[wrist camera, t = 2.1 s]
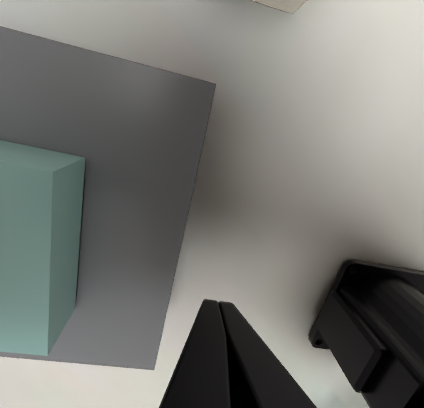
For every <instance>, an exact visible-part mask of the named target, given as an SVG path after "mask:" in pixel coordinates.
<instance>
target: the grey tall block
mask: <svg viewBox="0 0 424 408" xmlns="http://www.w3.org/2000/svg"><path fill="white" fill-rule="evenodd" d="M251 1H255V2H258V3H261V4H264V5H267V6H270V7H273V8H276V9H279V10H282V11H285V12H288V13H291V14H293V13H295V12H296V11H297V10H298V9H299V8H300V7H301V6H302V5H303V4H304V3H305V2H306V1H307V0H251Z"/></svg>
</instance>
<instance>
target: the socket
mask: <svg viewBox="0 0 424 408" xmlns="http://www.w3.org/2000/svg"><path fill="white" fill-rule="evenodd" d="M215 87H216V84H214V83H211V82H207V81H203V80H199V79H196V78H192V77H188V76H184V75H181V74H177V73H173V72H169V71H166V70H162V69H158V68H154V67H151V66H147V65H143V64H140V63H136V62H132V61H128V60H125V59H121V58H117V57H113V56H110V55H106V54H102V53H98V52H95V51H91V50H87V49H83V48H80V47H76V46H72V45H68V44H65V43H61V42H57V41H53V40H50V39H46V38H42V37H38V36H35V35H31V34H27V33H24V32H20V31H16V30H12V29H9V28H5V27H1V26H0V140H3V141H7V142H12V143H17V144H22V145H27V146H32V147H37V148H41V149H46V150H51V151H56V152H61V153H66V154H71V155H75V156H80V157H85V172H86V175H85V189H84V203H83V217H82V231H81V241H80V244H79V258H78V273H77V287H76V301H75V310H74V312H73V313H72V315H71V317H70V319H69V320H68V322H67V324H66V325H65V327H64V329H63V330H62V332H61V334H60V336H59V337H58V339H57V341H56V342H55V344H54V346H53V347H52V349H51V351H50V353H49V354H48V356H42V355H31V354H20V353H9V352H0V356H1V357H12V358H24V359H35V360H46V361H57V362H69V363H80V364H91V365H102V366H114V367H125V368H136V369H148V370H154V368H155V364H156V359H157V355H158V350H159V345H160V341H161V336H162V331H163V327H164V322H165V318H166V313H167V308H168V304H169V299H170V295H171V290H172V285H173V281H174V276H175V271H176V267H177V262H178V258H179V253H180V248H181V244H182V239H183V234H184V230H185V225H186V221H187V216H188V211H189V207H190V202H191V198H192V193H193V188H194V184H195V179H196V174H197V170H198V165H199V161H200V156H201V151H202V147H203V142H204V137H205V133H206V128H207V124H208V119H209V114H210V110H211V105H212V101H213V96H214V91H215Z"/></svg>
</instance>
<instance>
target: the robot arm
mask: <svg viewBox="0 0 424 408" xmlns="http://www.w3.org/2000/svg"><path fill="white" fill-rule="evenodd" d="M352 267H353V268H352ZM351 268H352V269H351ZM350 269H351V270H350ZM309 341H310V342H311V344H312V346H313V347H315V348H322V349H330V350H331V352H332V354H333V355H334V357H335V359H336V360H337V362H338V364H339V365H340V367H341V369H342V371H343V372H344V374H345V376H346V377H347V379H348V381H349V382H350V384H351V386H352V387H353V389H354V390H355V391H356V392H358V393H361V394H362V396H363V397H364V399H365V400H366V402H367V404H368V405H369V407H370V408H424V272H421V271H415V270H410V269H404V268H398V267H392V266H387V265H381V264H375V263H369V262H364V261H358V260H347V261H345V262H344V263H343V265H342V266H341V268H340V271H339V273H338V275H337V277H336V279H335V281H334V284H333V286H332V288H331V290H330V292H329V294H328V297H327V299H326V301H325V303H324V305H323V307H322V310H321V312H320V314H319V316H318V318H317V320H316V323H315V325H314V327H313V329H312V331H311V333H310V336H309ZM159 408H317V407H316V406H315V405H314V403H313V402H312V401H311V400H310V398H309V397H308V396H307V395H306V394H305V392H304V391H303V390H302V389H301V387H300V386H299V385H298V384H297V382H296V381H295V380H294V379H293V377H292V376H291V375H290V374H289V372H288V371H287V370H286V369H285V367H284V366H283V365H282V364H281V362H280V361H279V360H278V359H277V358H276V356H275V355H274V354H273V353H272V351H271V350H270V349H269V348H268V346H267V345H266V344H265V343H264V341H263V340H262V339H261V338H260V336H259V335H258V334H257V333H256V331H255V330H254V329H253V328H252V326H251V325H250V324H249V323H248V322H247V320H246V319H245V318H244V317H243V315H242V314H241V313H240V312H239V310H238V309H237V308H236V307H235V305H234V304H233V303H230V302H223V301H220V302H217V301H215V300H208V299H204V300H203V302H202V304H201V307H200V309H199V312H198V314H197V316H196V319H195V321H194V324H193V326H192V329H191V331H190V333H189V336H188V338H187V341H186V343H185V346H184V348H183V350H182V353H181V355H180V358H179V360H178V363H177V365H176V367H175V370H174V372H173V375H172V377H171V380H170V382H169V384H168V387H167V389H166V392H165V394H164V397H163V399H162V401H161V404H160V406H159Z"/></svg>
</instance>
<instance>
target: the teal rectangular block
mask: <svg viewBox="0 0 424 408" xmlns="http://www.w3.org/2000/svg"><path fill="white" fill-rule="evenodd" d="M84 173H85V157H80V156H75V155H71V154H66V153H61V152H56V151H51V150H46V149H41V148H37V147H32V146H27V145H22V144H17V143H12V142H7V141H3V140H0V352H9V353H20V354H31V355H42V356H48V354H49V353H50V351H51V349H52V347H53V346H54V344H55V342H56V341H57V339H58V337H59V336H60V334H61V332H62V330H63V329H64V327H65V325H66V324H67V322H68V320H69V319H70V317H71V315H72V313H73V312H74V310H75V301H76V287H77V273H78V258H79V244H80V230H81V215H82V201H83V187H84Z"/></svg>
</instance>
